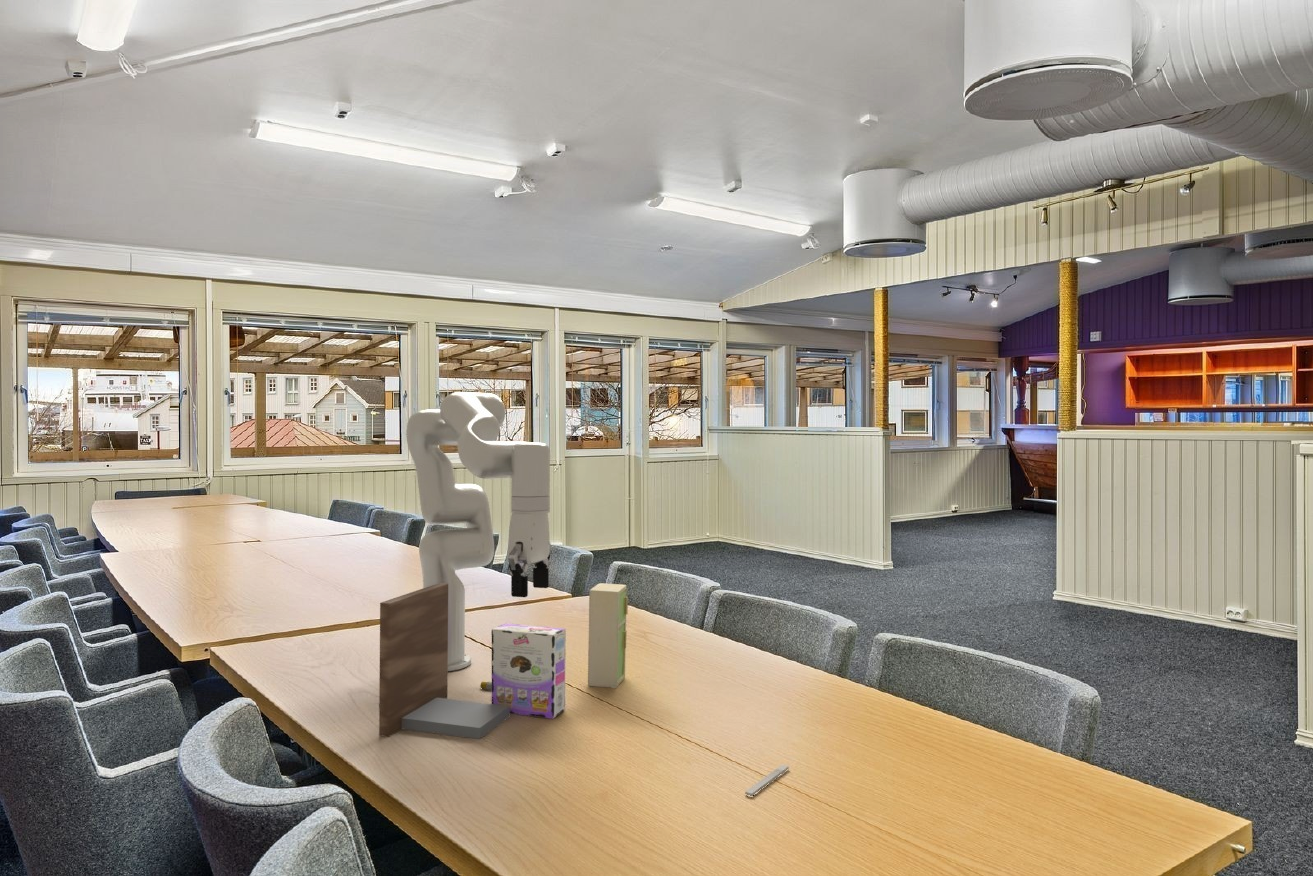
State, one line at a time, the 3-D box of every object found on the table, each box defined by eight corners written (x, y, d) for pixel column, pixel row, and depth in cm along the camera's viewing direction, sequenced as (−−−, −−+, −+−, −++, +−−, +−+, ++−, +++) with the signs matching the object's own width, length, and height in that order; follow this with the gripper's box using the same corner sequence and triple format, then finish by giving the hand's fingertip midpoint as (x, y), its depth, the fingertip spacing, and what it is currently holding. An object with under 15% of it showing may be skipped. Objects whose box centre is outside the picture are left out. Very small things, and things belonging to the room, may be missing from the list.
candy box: (566, 710, 160) (567, 627, 160) (553, 720, 154) (554, 634, 154) (504, 701, 164) (505, 621, 164) (489, 711, 159) (490, 628, 159)
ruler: (751, 800, 123) (751, 793, 123) (745, 798, 124) (745, 791, 124) (788, 772, 133) (788, 766, 133) (782, 770, 134) (782, 764, 134)
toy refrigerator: (620, 689, 173) (621, 591, 173) (587, 686, 175) (588, 589, 175) (628, 677, 181) (630, 584, 181) (597, 675, 183) (598, 582, 182)
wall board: (379, 735, 146) (380, 602, 145) (438, 700, 165) (439, 582, 165) (388, 736, 145) (389, 603, 145) (447, 701, 164) (448, 583, 164)
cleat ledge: (401, 728, 149) (401, 718, 149) (436, 707, 161) (436, 697, 161) (479, 739, 145) (479, 728, 145) (509, 716, 156) (509, 706, 156)
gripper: (531, 501, 168) (531, 583, 168) (492, 508, 152) (492, 599, 152) (565, 502, 166) (565, 585, 166) (529, 509, 149) (529, 601, 149)
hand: (530, 592), depth 159 cm, fingers open, 9 cm apart
